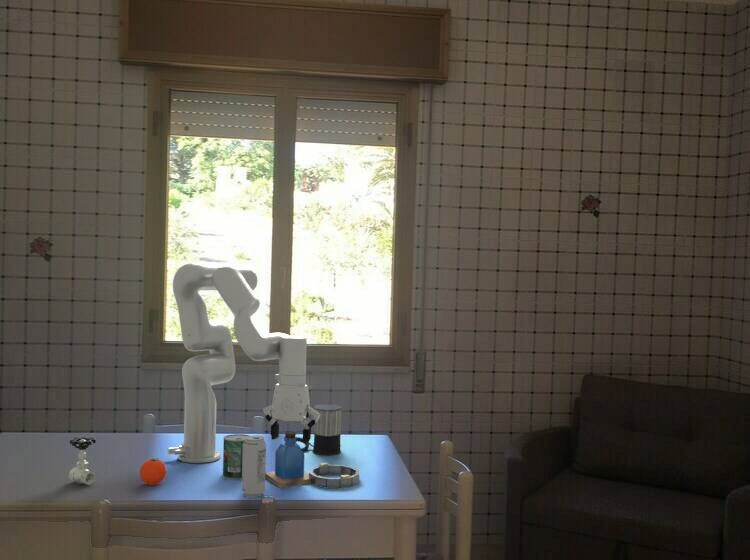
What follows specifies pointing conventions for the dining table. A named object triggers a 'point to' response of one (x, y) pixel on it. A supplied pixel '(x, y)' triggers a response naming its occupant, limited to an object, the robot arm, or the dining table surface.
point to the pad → (287, 482)
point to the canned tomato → (233, 456)
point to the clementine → (152, 471)
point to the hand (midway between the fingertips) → (290, 440)
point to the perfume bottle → (289, 458)
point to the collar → (346, 479)
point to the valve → (82, 462)
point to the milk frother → (326, 430)
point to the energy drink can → (253, 466)
